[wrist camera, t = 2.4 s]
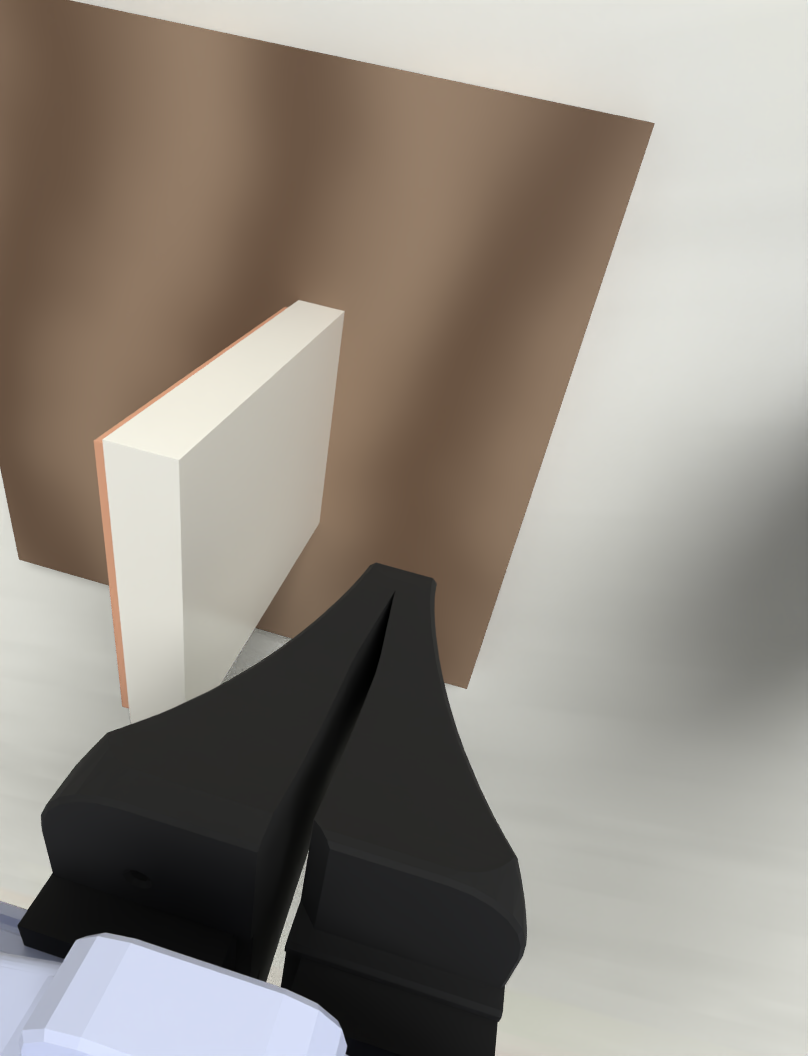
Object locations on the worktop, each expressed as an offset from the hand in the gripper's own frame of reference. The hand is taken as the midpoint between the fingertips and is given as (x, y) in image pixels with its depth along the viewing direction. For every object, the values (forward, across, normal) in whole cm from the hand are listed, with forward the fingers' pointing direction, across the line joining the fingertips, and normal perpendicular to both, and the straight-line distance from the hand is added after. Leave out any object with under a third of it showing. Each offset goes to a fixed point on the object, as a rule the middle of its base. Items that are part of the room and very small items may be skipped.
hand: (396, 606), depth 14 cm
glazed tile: (+7, +4, 0) cm, 8 cm away
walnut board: (+8, +6, 0) cm, 10 cm away
